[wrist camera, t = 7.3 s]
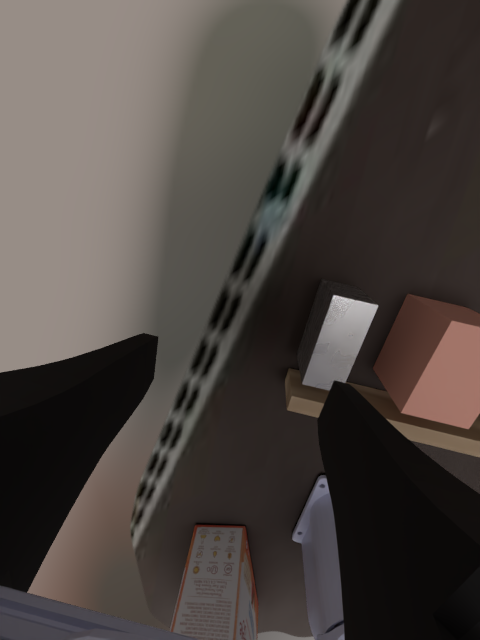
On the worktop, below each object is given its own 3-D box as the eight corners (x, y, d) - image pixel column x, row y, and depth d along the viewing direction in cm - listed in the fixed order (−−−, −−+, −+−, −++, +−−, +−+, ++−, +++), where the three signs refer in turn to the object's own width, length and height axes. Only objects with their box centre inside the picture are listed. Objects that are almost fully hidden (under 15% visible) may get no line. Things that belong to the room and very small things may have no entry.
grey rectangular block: (328, 361, 21) (340, 393, 17) (296, 353, 21) (301, 384, 17) (357, 286, 19) (378, 305, 15) (321, 278, 19) (333, 295, 15)
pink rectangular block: (424, 380, 21) (468, 429, 16) (372, 367, 21) (400, 412, 16) (466, 307, 18) (531, 339, 14) (406, 293, 18) (451, 320, 14)
